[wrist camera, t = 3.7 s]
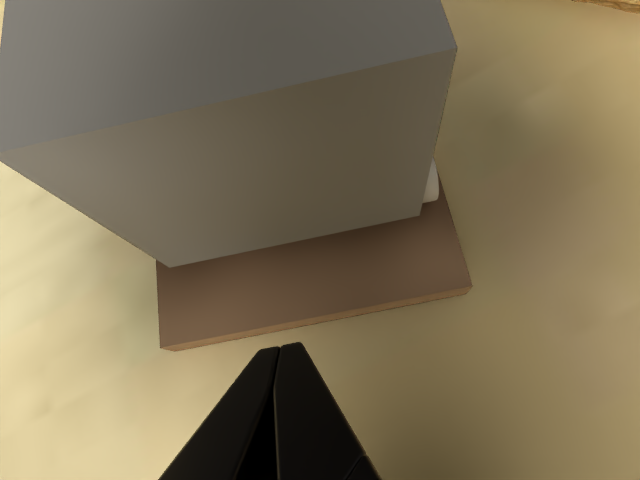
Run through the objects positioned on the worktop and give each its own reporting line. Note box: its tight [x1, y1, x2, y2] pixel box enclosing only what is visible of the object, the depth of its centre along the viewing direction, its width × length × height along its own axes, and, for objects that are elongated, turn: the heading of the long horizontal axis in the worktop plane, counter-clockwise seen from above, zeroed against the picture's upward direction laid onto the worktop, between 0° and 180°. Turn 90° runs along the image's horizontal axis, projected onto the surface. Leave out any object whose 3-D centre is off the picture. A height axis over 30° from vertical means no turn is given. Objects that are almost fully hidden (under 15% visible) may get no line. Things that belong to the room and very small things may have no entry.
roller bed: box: [156, 157, 472, 351], centre depth 16 cm, size 21×11×8 cm, turn 10°
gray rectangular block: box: [0, 0, 457, 268], centre depth 12 cm, size 10×8×7 cm
